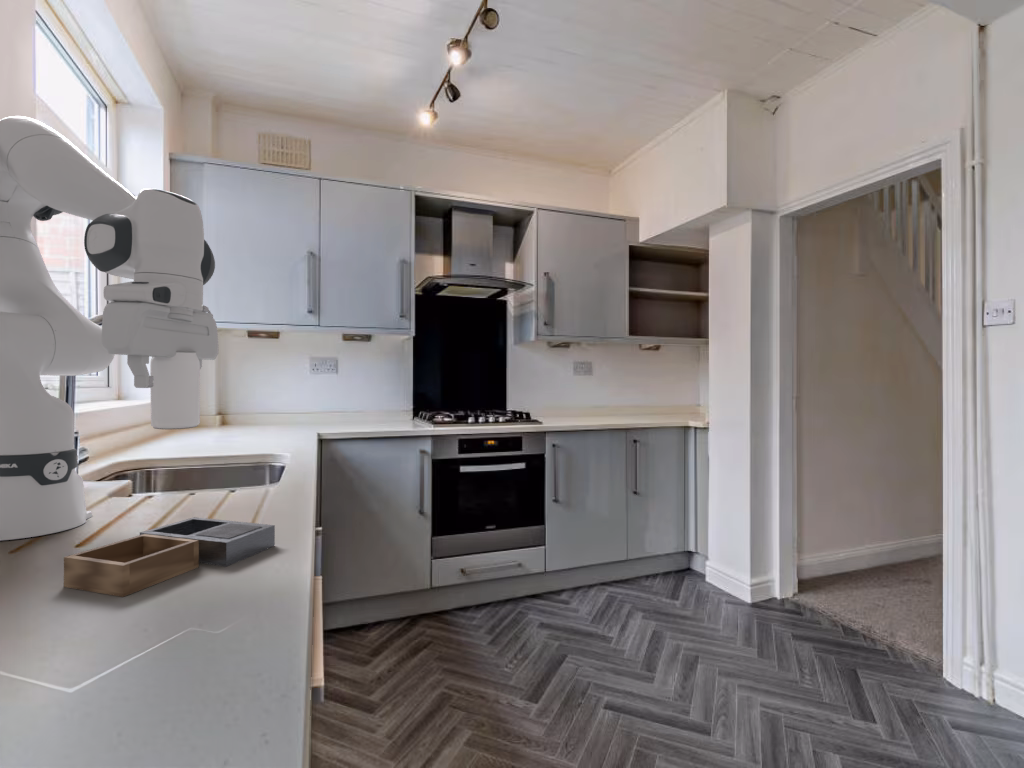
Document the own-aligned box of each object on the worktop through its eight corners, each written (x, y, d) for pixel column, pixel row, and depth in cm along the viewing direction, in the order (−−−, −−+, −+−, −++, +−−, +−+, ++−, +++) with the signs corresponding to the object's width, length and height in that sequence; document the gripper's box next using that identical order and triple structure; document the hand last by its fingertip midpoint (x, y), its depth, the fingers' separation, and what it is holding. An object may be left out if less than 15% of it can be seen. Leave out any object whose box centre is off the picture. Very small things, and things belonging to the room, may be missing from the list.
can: (175, 430, 76) (175, 351, 75) (140, 428, 77) (139, 350, 76) (209, 425, 82) (209, 351, 81) (176, 423, 83) (175, 350, 83)
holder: (63, 586, 66) (63, 557, 66) (144, 559, 76) (144, 533, 76) (122, 597, 62) (122, 565, 62) (198, 567, 73) (198, 540, 73)
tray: (139, 555, 78) (139, 531, 78) (194, 537, 87) (194, 516, 87) (226, 566, 73) (226, 542, 73) (274, 546, 82) (274, 524, 82)
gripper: (194, 306, 88) (192, 385, 88) (92, 285, 67) (90, 387, 68) (229, 307, 88) (227, 386, 88) (138, 286, 67) (135, 389, 67)
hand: (167, 387), depth 78 cm, fingers open, 8 cm apart
